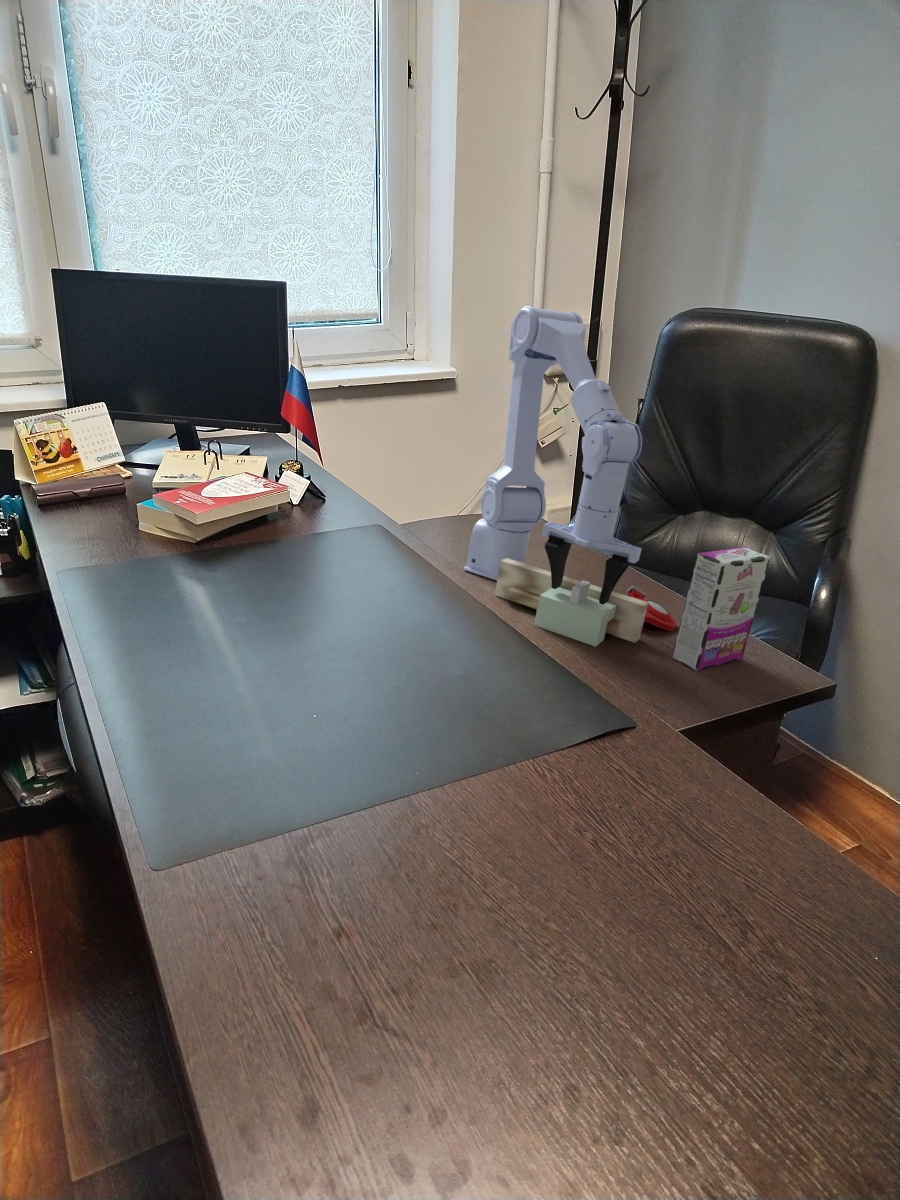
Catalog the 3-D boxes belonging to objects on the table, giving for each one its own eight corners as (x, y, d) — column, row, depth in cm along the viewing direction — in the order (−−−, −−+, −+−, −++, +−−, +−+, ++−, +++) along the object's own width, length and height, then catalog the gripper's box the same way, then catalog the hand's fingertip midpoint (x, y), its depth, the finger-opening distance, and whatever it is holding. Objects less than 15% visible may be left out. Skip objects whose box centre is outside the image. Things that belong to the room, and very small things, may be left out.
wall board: (488, 598, 133) (494, 562, 131) (500, 592, 136) (506, 557, 134) (630, 646, 123) (639, 609, 121) (639, 639, 126) (648, 602, 124)
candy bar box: (715, 646, 128) (744, 545, 122) (742, 660, 124) (773, 556, 118) (668, 657, 121) (696, 551, 115) (695, 672, 118) (726, 563, 112)
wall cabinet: (533, 625, 125) (542, 579, 123) (550, 615, 130) (559, 570, 128) (595, 647, 121) (606, 599, 118) (609, 635, 126) (620, 589, 123)
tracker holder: (690, 623, 133) (657, 618, 126) (675, 645, 135) (641, 641, 128) (639, 580, 141) (605, 574, 134) (625, 602, 142) (590, 596, 135)
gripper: (540, 498, 119) (524, 586, 124) (637, 524, 112) (616, 616, 117) (560, 491, 124) (543, 576, 129) (653, 516, 118) (632, 604, 123)
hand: (579, 594), depth 124 cm, fingers open, 7 cm apart
